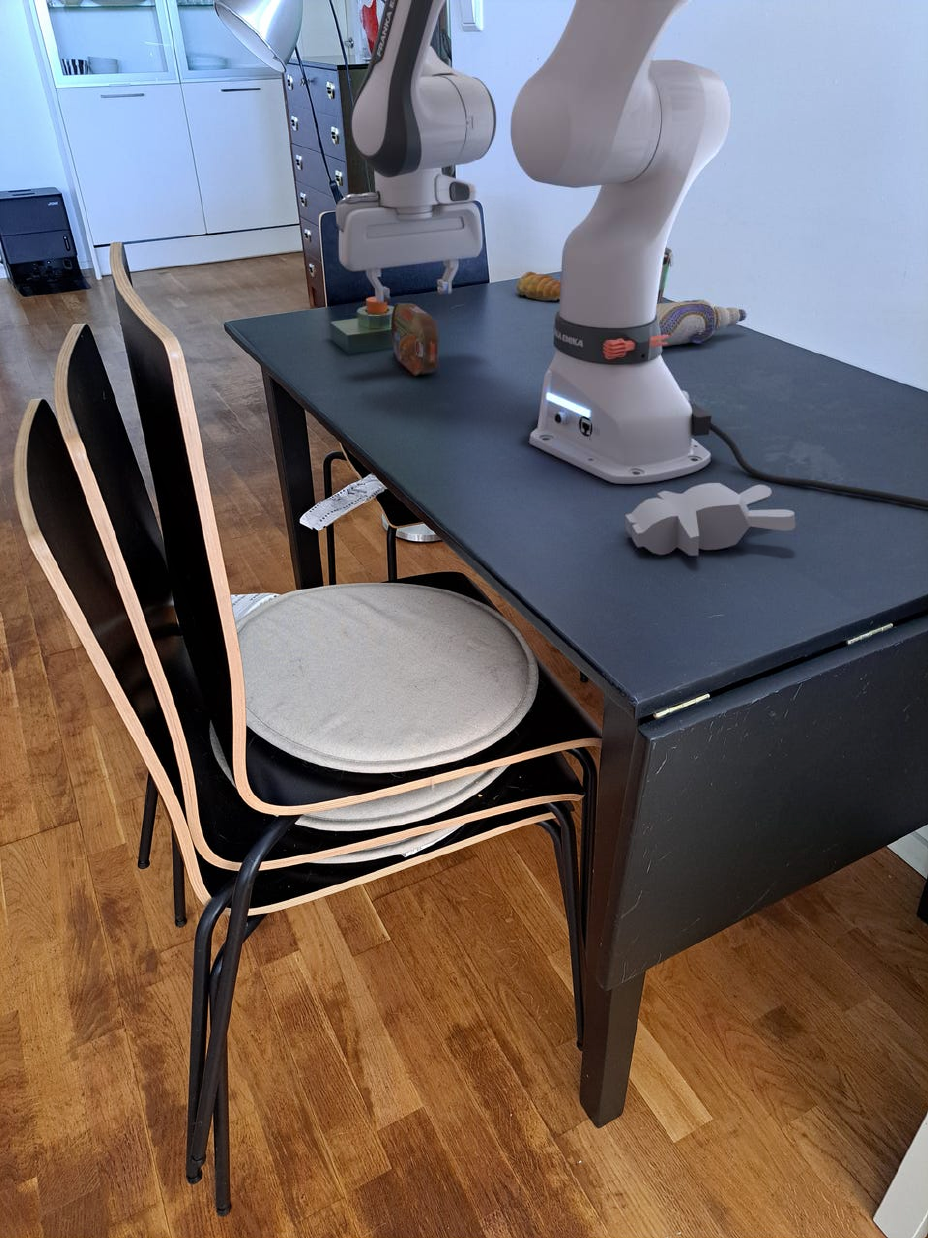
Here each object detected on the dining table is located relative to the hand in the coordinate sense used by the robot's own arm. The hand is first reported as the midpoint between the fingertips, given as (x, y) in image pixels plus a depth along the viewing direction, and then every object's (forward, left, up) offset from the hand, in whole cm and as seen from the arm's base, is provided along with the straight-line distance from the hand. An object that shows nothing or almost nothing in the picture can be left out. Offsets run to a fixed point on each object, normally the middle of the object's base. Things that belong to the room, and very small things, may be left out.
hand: (414, 297), depth 125 cm
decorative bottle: (-8, -40, -10) cm, 42 cm away
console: (+15, 0, -10) cm, 18 cm away
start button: (+15, 0, -5) cm, 16 cm away
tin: (+1, 0, -10) cm, 10 cm away
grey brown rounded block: (+14, -49, -10) cm, 52 cm away
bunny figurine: (-60, -4, -10) cm, 61 cm away
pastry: (+28, -37, -10) cm, 48 cm away
